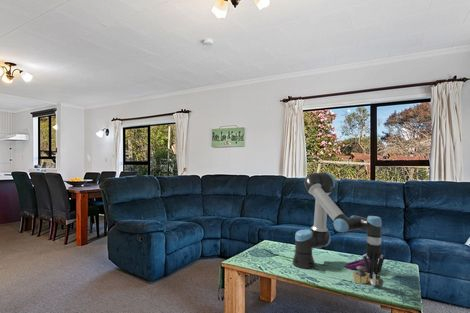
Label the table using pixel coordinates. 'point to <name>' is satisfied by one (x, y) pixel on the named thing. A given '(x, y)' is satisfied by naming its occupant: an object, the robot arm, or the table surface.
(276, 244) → the table surface
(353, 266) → the mounting bracket
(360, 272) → the base
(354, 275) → the collar
